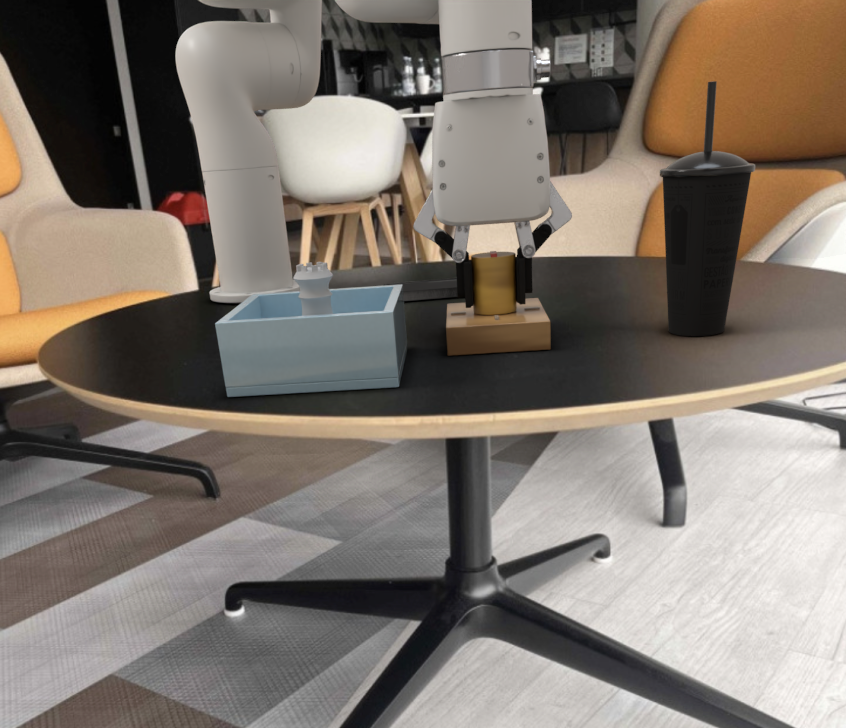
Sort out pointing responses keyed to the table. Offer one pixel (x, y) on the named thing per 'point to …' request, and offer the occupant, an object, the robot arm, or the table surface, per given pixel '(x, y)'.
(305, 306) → the rook chess piece
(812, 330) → the table surface
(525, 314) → the panel
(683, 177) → the drinking cup
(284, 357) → the basin
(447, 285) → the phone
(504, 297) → the red-marked tan cylinder
